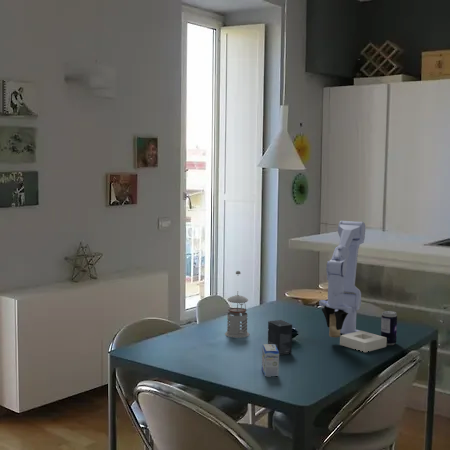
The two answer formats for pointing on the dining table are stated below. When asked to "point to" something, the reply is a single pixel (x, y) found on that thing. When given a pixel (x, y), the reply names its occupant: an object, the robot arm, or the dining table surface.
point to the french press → (237, 317)
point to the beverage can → (389, 326)
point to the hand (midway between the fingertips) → (334, 328)
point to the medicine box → (270, 360)
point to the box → (280, 336)
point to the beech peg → (333, 327)
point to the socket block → (363, 341)
